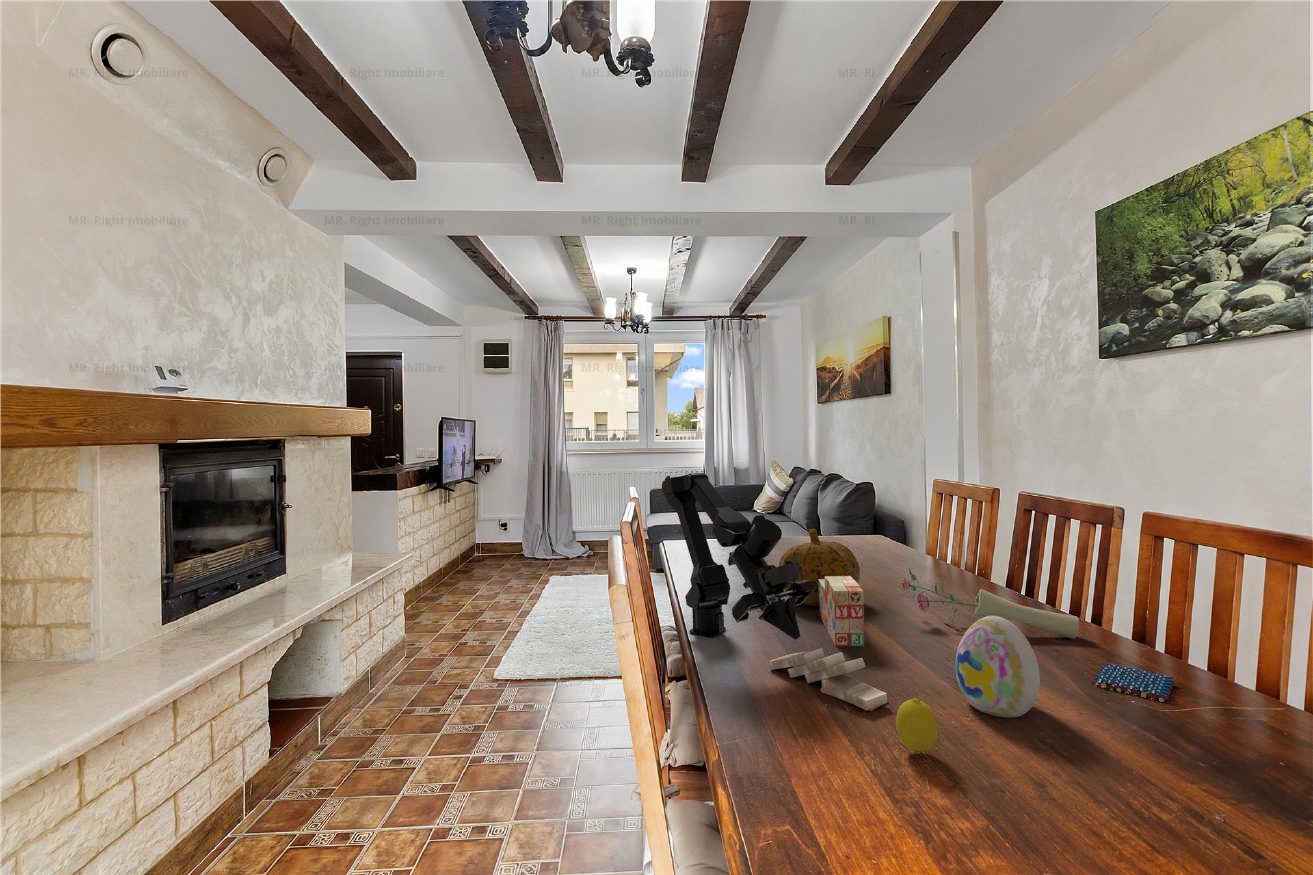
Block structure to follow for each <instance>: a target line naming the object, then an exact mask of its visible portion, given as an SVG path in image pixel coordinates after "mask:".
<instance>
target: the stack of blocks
mask: <svg viewBox="0 0 1313 875" xmlns="http://www.w3.org/2000/svg"><path fill="white" fill-rule="evenodd" d="M818 589H819V603H820V606H819V616H820V617H821V621H822V622H823V624H824V627H825V628H826V630H827V632H828V634H829V636H830V638H831V641H832V642H833V644H834V646H835V647H865V621H864V619H865V606H864V604H865V602H864V600H865V598H864V597H865V593H864V592H865V591H864V589H863V588H862V587H861V585H860V584H859V583H857V582H856V581H855V580H853V578H852V577H851V576H825V577H824V579H818Z"/></svg>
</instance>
